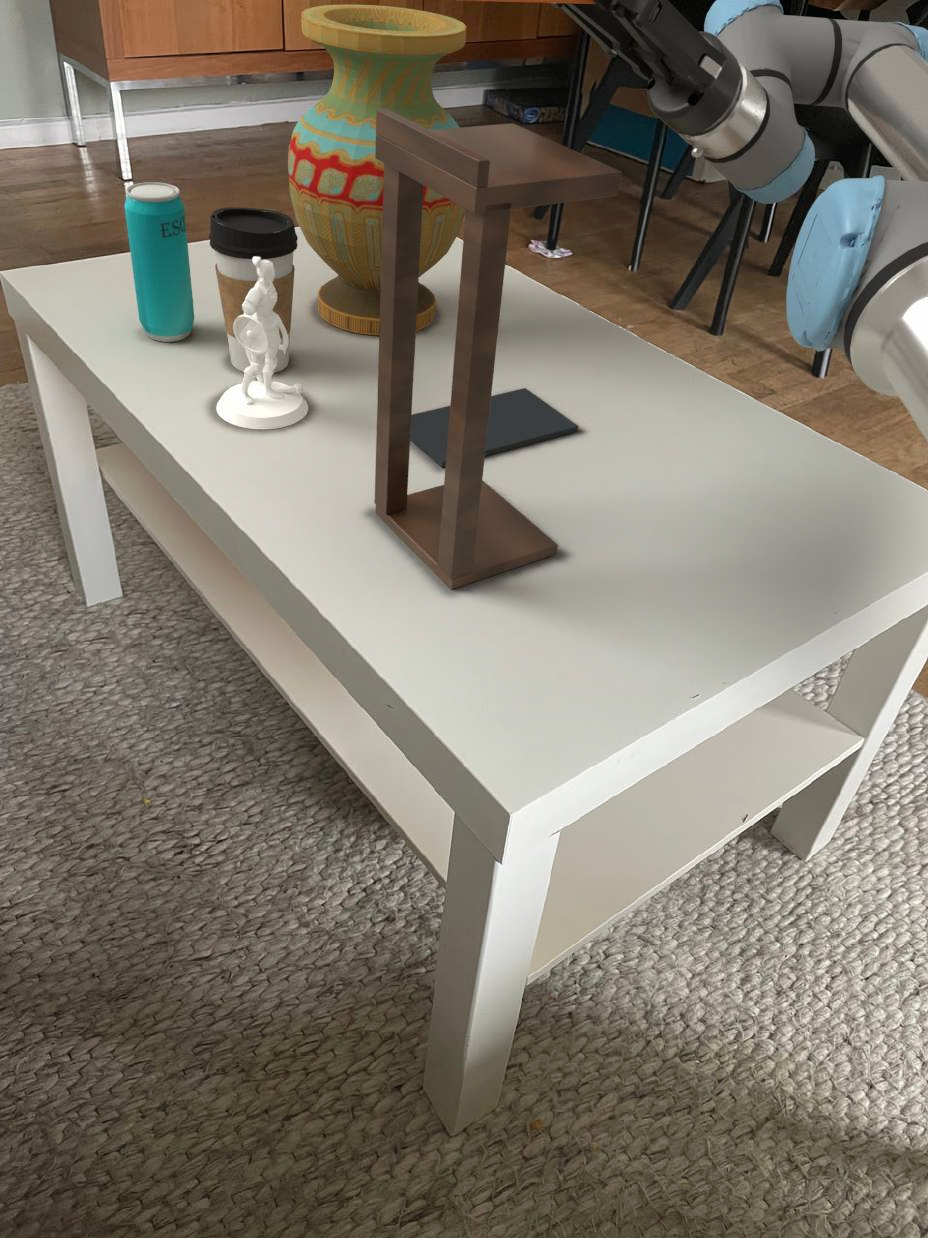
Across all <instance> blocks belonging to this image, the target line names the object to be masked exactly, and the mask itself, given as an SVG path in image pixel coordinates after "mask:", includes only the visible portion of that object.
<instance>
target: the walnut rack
mask: <svg viewBox="0 0 928 1238" xmlns="http://www.w3.org/2000/svg"><path fill="white" fill-rule="evenodd" d="M375 158H376V159H378V160H380V161H381V162H383V163H384V187H383V222H382V257H381V292H380V328H379V335H378V337H379V338H378V364H377V365H378V366H377V368H378V369H377V402H376V404H377V406H376V435H375V436H376V438H375V439H376V440H375V468H374V469H375V471H374V472H375V473H374V474H375V475H374V505H375V510H374V511H375V514H376V515H377V516H378V518H380V520H382V521H383V522H384V523H385V524H386V525H387V527H389V528H390V530H391V531H393V532H394V534H396V536H398V538H400V539H401V540H402V542H403V543H405V545H407V547H408V548H409V549H410V550H412V552H414V554H415V555H416V556H418V557H419V559H420V560H421V561H422V562H423V563H424V564H425V565H426V566H427V567H428V568H429V569H430V570H431V571H432V572H433V573H434V574H435V575H436V576H437V577H438V578H439V579H440V580H441V581H442V582H443V583H444V584H445V585H446V586H447V587H448V588H449V589H450V590H454V589H457V588H460V587H463V586H467V585H469V584H472V583H475V582H478V581H481V580H484V579H487V578H490V577H493V576H496V575H499V574H501V573H502V574H503V573H504V572H508V571H510V570H514V569H517V568H519V567H523V566H526V565H528V564H531V563H534V562H537V561H540V560H543V559H546V558H549V557H552V556H555V555H557V554H558V548H559V544H558V543H557V542H556V541H555V540H553V539H552V538H551V537H550V536H549V535H547V534H546V533H545V532H544V531H543V530H542V529H540V528H539V527H538V526H537V525H536V524H534V523H533V522H532V521H531V520H530V519H529V518H527V517H526V516H525V515H524V514H523V513H522V512H521V511H519V510H518V509H517V508H516V507H515V506H513V504H512V503H510V502H509V501H508V500H506V499H505V498H504V497H503V496H502V495H501V494H500V493H498V492H497V491H496V490H495V489H493V488H492V487H491V486H490V484H489V485H488V483H487V482H485V480H483V476H484V467H485V460H486V459H485V458H486V456H485V449H486V440H487V431H488V421H489V412H490V402H491V396H492V392H493V383H494V373H495V366H496V365H495V364H496V355H497V346H498V345H497V344H498V335H499V328H500V318H501V306H502V299H503V289H504V279H505V272H506V271H505V270H506V262H507V253H508V243H509V242H508V241H509V233H510V224H511V215H512V210H517V209H524V208H532V207H541V206H549V205H557V204H563V203H572V202H578V201H579V202H580V201H586V200H593V199H594V200H595V199H602V198H610V197H617V196H618V195H619V190H620V184H621V179H622V173H623V172H622V170H619V169H617V168H614V167H612V166H610V165H608V164H606V163H603V162H601V161H599V160H596V159H595V158H591V157H590V156H588V155H585V154H583V153H581V152H578V151H576V150H575V149H572V148H570V147H567V146H565V145H563V144H560V143H559V142H556V141H553V140H551V139H550V138H547V137H545V136H542V135H541V134H538V133H536V132H533V131H531V130H529V129H526V128H525V127H523V126H520V125H518V124H515V123H513V122H512V123H501V124H487V125H477V126H476V125H475V126H465V127H463V126H462V127H460V128H449V129H436V130H428V129H426V128H424V127H422V126H420V125H418V124H416V123H414V122H412V121H410V120H408V119H406V118H404V117H402V116H400V115H398V114H396V113H394V112H392V111H390V110H388V109H377V110H376V149H375ZM423 185H424V186H426V187H428V188H429V189H431V190H433V191H435V192H436V193H438V194H440V195H442V196H444V197H445V198H447V199H449V200H451V201H452V202H454V203H456V204H458V205H459V206H461V207H463V208H465V209H466V213H465V216H464V227H463V241H462V253H461V267H460V279H459V291H458V302H457V304H458V305H457V315H456V317H457V318H456V328H455V341H454V343H455V344H454V354H453V369H452V379H451V392H450V404H449V406H450V417H449V429H448V442H447V455H446V467H444V468H445V469H444V479H443V480H444V482H443V484H441V485H437V486H434V487H431V488H427V489H423V490H420V491H416V492H413V493H410V494H408V489H409V488H408V487H409V468H410V449H411V440H410V433H411V415H413V414H412V412H413V392H414V372H415V355H416V339H417V337H416V336H417V335H416V334H417V331H416V319H417V300H418V282H419V278H420V277H419V261H420V242H421V223H422V204H423Z"/></svg>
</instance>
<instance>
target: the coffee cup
mask: <svg viewBox="0 0 928 1238" xmlns="http://www.w3.org/2000/svg"><path fill="white" fill-rule="evenodd" d="M209 218H210V229H209V232H210V233H209V234H208V239H209V246H210V247H211V249H212V250H214V254H215V255H214V256H215V261H216V263H215V265H214V267H215V269H214V270H215V273H216V280H217V286H218V291H219V292H218V293H219V296H220V297H219V298H220V302H221V309H222V315H223V321H224V326H225V331H226V335H227V341H228V349H229V355H230V362H231V364H232V366H233V367H234V369H236V370H237V371H240V372H243V373H244V370H245V369H246V368H247V367H249V366H251V364H250V362H249V359H248V356H247V353H246V350H245V348H244V347H243V346H242V345H241V344H240V343H239V342H238V340H237V339H236V337H235V334H234V331H233V323H234V320H235V319H236V318H237V317H238V316H240V315H244V311H243V309H242V307H243V306H242V304H243V303H244V301H245V298H246V296H247V294H248V293H249V291H250V290H251V289H252V288H254V286H255V284H256V283H257V281H258V278H259V276H258V274H257V267H256V266H255V265H254V264H253V260H252V258H253V257H254V256H255V257H260V258H261V261H262V260H268V261H270V262H272V263H273V266H274V269H275V276H274V278H273V279H274V281H273V285H274V287H275V289H276V292H277V301H276V304H275V306H274V308H273V312H275V313H276V314H278V315H279V317H280V319H281V321H282V323H283V325H284V327H285V329H286V331H287V334H288V339H289V344H288V347H287V349H286V353H285V354H284V350H280V349H278V351H277V354H276V357H277V366H276V367H275V372H274V373H273V374H276V373H278V372H280V371H283V370H285V369H286V368H287V367H288V365H289V361H290V342H291V340H290V339H291V327H292V311H293V299H294V283H295V269H296V268H295V265H294V252H295V251H296V250H297V248H298V242H297V241H298V234H297V233H296V228H295V227H296V226H295V222H294V220H293V218H292V217H291V216H289V215H287V214H285V213H283V212H279V211H276V210H275V211H274V210H270V209H263V208H257V207H256V208H255V207H240V206H239V207H234V206H233V207H232V206H231V207H220V208H217V209H215V210H214V211H213V212H211V214H210V217H209ZM278 328H279V327H278ZM279 335H280V338H281V343H280V345H283V336H282V332H281V330H280V328H279ZM263 362H264V363H265V357H264V360H263ZM264 365H265V364H264ZM261 373H262V375H263V372H261Z"/></svg>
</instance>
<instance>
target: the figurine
mask: <svg viewBox="0 0 928 1238" xmlns="http://www.w3.org/2000/svg"><path fill="white" fill-rule="evenodd" d="M252 260H253V264H254V265H255V266H256V267H257V274H258V276H259V278H258V281H257V283H256V284H255V286H254V288H252V289H251V290H250V291H249V293H248V294H247V296H246V298H245V301H244V303H243V304H242V306H243V307H242V309H243V311H244V315H240V316H238V317H237V318H236V319H235V320H234V323H233V331H234V334H235V337H236V339H237V340H238V342H239V343H240V344H241V345H242V346H243V347H244V348H245V350H246V353H247V356H248V359H249V362H250V364H251V366H249V367H247V368H246V369H245V370H244V372H243V373H244V374H243V379H242V382H241V383H238V384H236V385H232V386H231V387H229V388H227V390H226V391H225V392H223V394H222V396H221V397H220V399H219V400H218V401H217V403H216V412H217V414H218V416H219V417H220V418H221V419H222V420H224V421H225V422H227V423H228V424H230V425H233V426H236V427H238V428H239V427H240V428H243V429H250V430H275V429H280V428H286V427H289V426H292V425H295V424H296V423H298V422H300V421H301V420H303V419H304V418H305V416H307V414H308V412H309V405H308V402H307V401H306V399H305V398H304V396H303V395H302V394H301V393H303V391H304V386H303V385H302V384H300V383H294V384H293V385H289V384H285V383H282V382H279V381H273V375H274V374H275V373H276V372H275V367H276V366H277V357H276V354H277V351H278V349H280V350H284V354H285V353H286V349H287V347H288V344H289V345H290V343H289V339H288V334H287V331H286V329H285V327H284V325H283V323H282V321H281V319H280V317H279V315H278V314H276V313H275V312H273V308H274V306H275V304H276V301H277V292H276V289H275V287H274V285H273V281H274V279H273V278H274V276H275V269H274V266H273V263H272V262H270V261H268V260H262V261H261V258H260V257H255V256H254V257H253V258H252ZM278 327H279V328H280V330H281V332H282V336H283V345H280V343H281V338H280V335H279V328H278ZM264 357H265V363H264V362H263V360H264ZM264 364H265V365H264ZM261 372H263V374H262V373H261ZM274 372H275V373H274ZM255 378H256V379H257V380H255Z"/></svg>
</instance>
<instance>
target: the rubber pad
mask: <svg viewBox="0 0 928 1238" xmlns="http://www.w3.org/2000/svg"><path fill="white" fill-rule="evenodd" d="M449 417H450V405H447V406H443V407H439V408H435V409H431V410H430V409H429V410H425V411H422V412H417V413H413V414H411V433H410V442H412V443H413V444H414V445H415V446H417V447H418V448H419V449H420V450H421V451H422V452H424V453H425V454H426V455H427V456H428V457H429V458H430V459H432V461H434V462H435V463H436V464H437V465H438V466H440V468H445V467H446V455H447V442H448V429H449ZM576 432H579V425H578V424H576V423H575V422H573V421H572V420H571V419H569V418H568V417H567V416H565V415H563V414H562V413H561V412H559V410H557V409H555V408H554V407H552V406H551V405H550V404H548V403H547V402H545V401H544V400H543V399H541V398H540V397H538V396H537V395H536V394H535V393H533V392H532V391H530V390H529V389H527V388H525V387H524V388H520V389H516V390H512V391H506V392H503V393H498V394H493V395H491V402H490V412H489V421H488V431H487V440H486V449H485V457H487V456H490V455H494V454H495V455H496V454H497V453H501V452H505V451H509V450H513V449H516V448H521V447H524V446H527V445H531V444H532V445H533V444H535V443H540V442H542V441H546V440H550V439H555V438H558V437H561V436H565V435H570V434H573V433H576Z"/></svg>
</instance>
